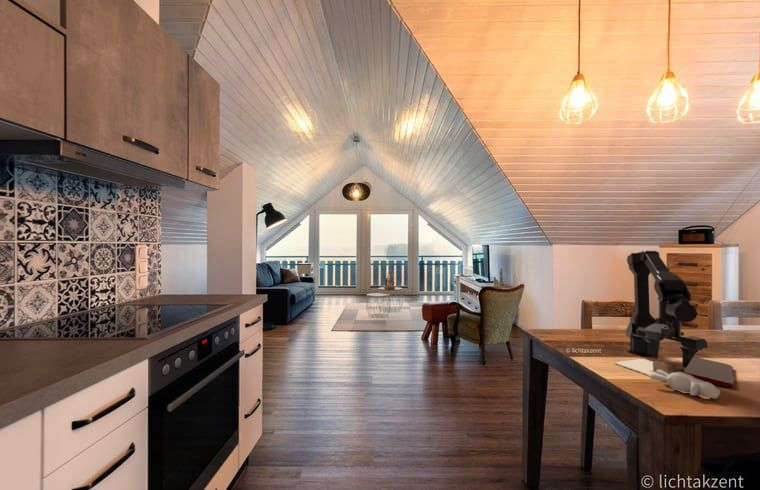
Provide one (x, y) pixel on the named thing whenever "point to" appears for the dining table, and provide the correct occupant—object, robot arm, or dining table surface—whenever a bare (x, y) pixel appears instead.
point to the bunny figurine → (687, 383)
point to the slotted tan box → (668, 366)
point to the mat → (639, 366)
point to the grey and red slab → (710, 371)
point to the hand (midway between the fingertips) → (669, 362)
